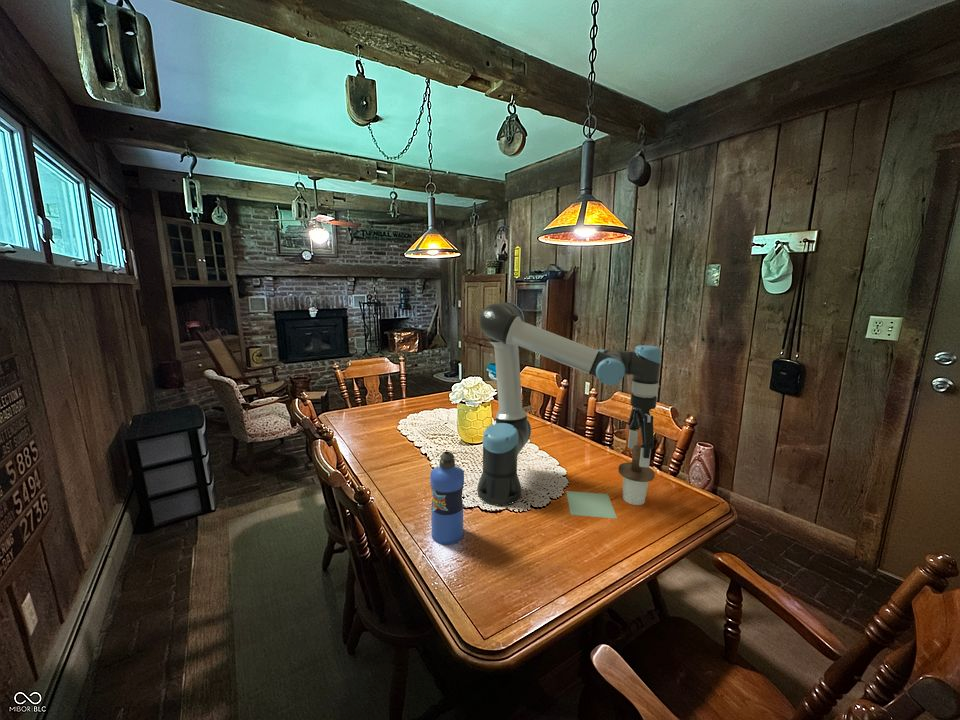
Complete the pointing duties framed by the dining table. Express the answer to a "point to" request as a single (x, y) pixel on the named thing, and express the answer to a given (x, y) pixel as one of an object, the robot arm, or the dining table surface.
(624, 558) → the dining table surface
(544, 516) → the dining table surface
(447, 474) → the water bottle
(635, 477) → the lid
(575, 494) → the mat
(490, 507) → the dining table surface
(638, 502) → the white cup
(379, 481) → the dining table surface
